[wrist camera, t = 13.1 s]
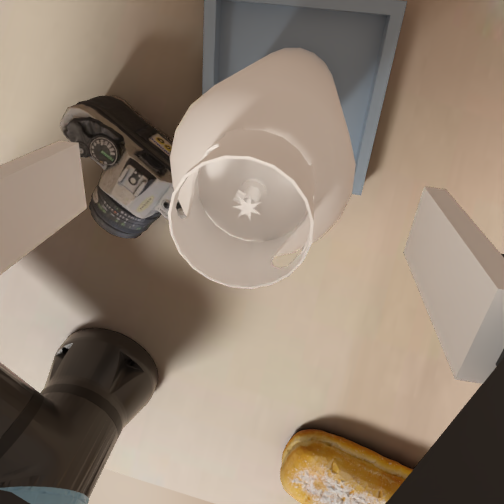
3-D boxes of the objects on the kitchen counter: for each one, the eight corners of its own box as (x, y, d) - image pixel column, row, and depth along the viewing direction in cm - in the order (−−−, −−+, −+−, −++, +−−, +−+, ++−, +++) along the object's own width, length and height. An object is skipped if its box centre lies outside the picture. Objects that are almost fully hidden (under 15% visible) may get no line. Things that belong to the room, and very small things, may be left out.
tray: (206, 166, 42) (200, 173, 40) (211, -15, 34) (204, -18, 32) (358, 186, 41) (361, 195, 38) (401, 2, 33) (407, 1, 30)
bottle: (273, 28, 34) (167, 35, 10) (352, 75, 35) (428, 183, 11) (233, 114, 38) (91, 263, 14) (306, 154, 39) (287, 358, 15)
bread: (413, 514, 67) (424, 570, 60) (269, 460, 66) (263, 510, 59) (462, 474, 60) (481, 532, 53) (302, 412, 59) (300, 463, 52)
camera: (69, 157, 44) (8, 188, 35) (113, 81, 39) (55, 95, 31) (182, 244, 47) (152, 292, 39) (235, 184, 43) (214, 223, 34)
